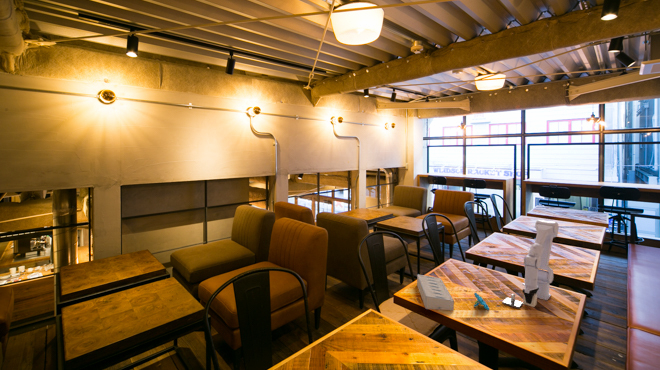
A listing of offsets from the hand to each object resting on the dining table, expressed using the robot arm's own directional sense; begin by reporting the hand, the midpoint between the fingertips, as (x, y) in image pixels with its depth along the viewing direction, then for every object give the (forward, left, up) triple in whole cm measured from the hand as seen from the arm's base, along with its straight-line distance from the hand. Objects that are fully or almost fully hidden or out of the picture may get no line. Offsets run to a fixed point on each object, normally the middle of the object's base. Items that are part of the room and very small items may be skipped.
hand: (530, 301), depth 163 cm
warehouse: (+30, -41, -2) cm, 51 cm away
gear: (+23, -17, -2) cm, 29 cm away
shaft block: (+7, -6, -1) cm, 9 cm away
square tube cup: (0, 0, -1) cm, 1 cm away
